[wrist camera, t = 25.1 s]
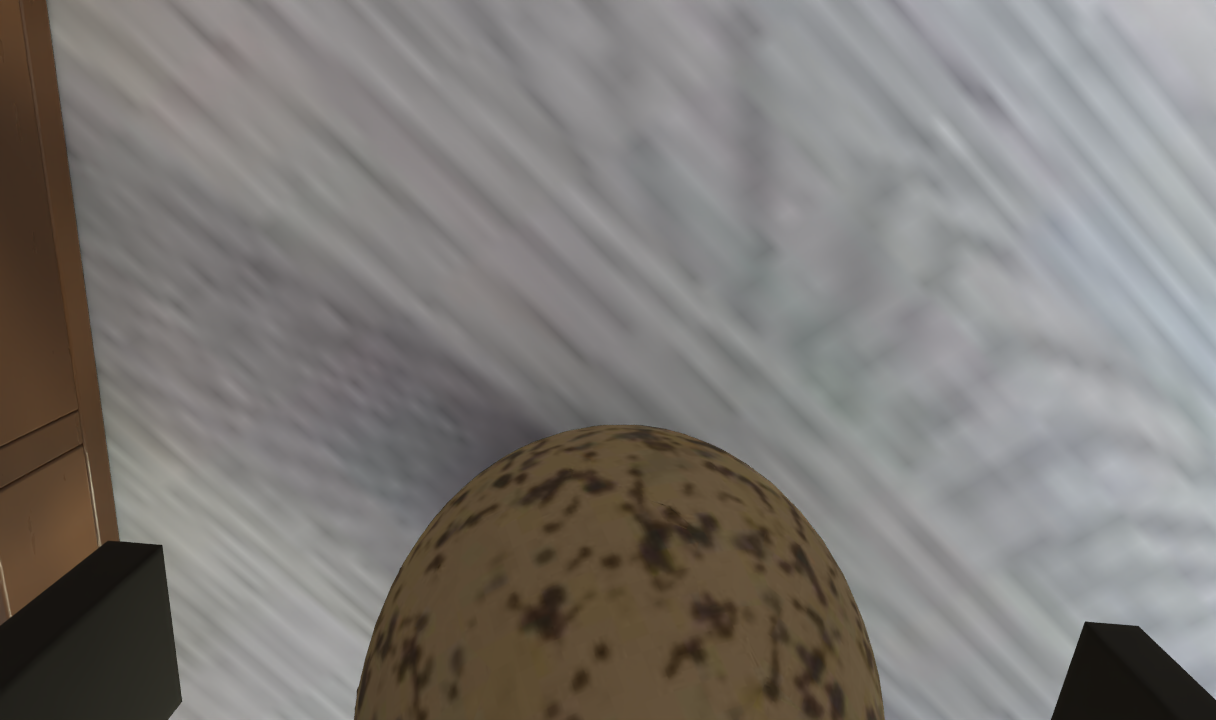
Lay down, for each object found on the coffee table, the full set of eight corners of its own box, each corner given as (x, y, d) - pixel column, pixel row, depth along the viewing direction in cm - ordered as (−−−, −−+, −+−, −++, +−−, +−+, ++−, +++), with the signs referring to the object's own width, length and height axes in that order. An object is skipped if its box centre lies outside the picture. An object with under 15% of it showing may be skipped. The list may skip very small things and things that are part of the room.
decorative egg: (662, 721, 16) (722, 1576, 6) (385, 565, 15) (-36, 1308, 5) (867, 484, 14) (1373, 1184, 5) (567, 287, 13) (420, 667, 4)
